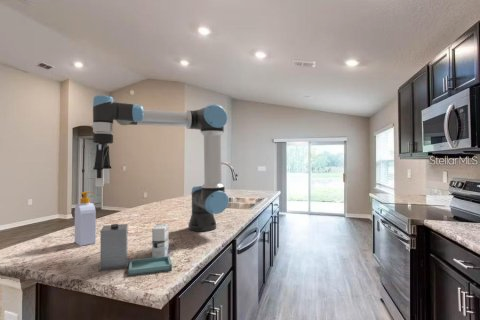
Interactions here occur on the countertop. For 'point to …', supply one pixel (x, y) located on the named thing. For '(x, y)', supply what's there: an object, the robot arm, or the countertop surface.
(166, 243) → the ink box
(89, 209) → the soap bottle
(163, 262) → the tray
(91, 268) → the countertop surface
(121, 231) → the unit
